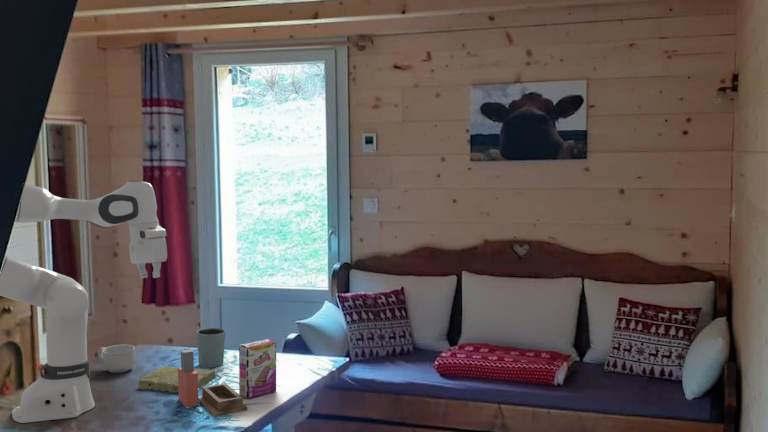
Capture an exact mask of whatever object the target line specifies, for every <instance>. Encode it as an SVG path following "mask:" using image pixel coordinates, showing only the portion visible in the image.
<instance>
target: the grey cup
mask: <svg viewBox="0 0 768 432" xmlns="http://www.w3.org/2000/svg"><path fill="white" fill-rule="evenodd" d="M225 340H226V330H225V329H223V328H219V327H210V328H209V327H207V328H202V329H198V330H196V341H197V343H196V344H197V354H198V357H197V358H198V359H197V360H198V366H200V367H201V366H204V367H203V368H215V367H214V366H217V367H219V366H222V365H223V364H224V358H225V356H224V354H225Z"/></svg>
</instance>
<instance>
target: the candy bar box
mask: <svg viewBox="0 0 768 432" xmlns="http://www.w3.org/2000/svg"><path fill="white" fill-rule="evenodd" d="M238 368H239V369H238V371H239V372H238V377H239V378H238V380H239V382H238V383H239V386H238V387H239V389H238V390H239V393H238V394H239V395H240V396H242V397H243V399H246V400H249V399H253V398H256V397H261V396H264V395H268V394H272V393H275V392H276V391H277V341H275V340H272V339H268V338H267V339H263V340H262V339H261V340H256V341H252V342H247V343H241V344H239V345H238Z"/></svg>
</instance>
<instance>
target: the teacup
mask: <svg viewBox="0 0 768 432" xmlns="http://www.w3.org/2000/svg"><path fill="white" fill-rule="evenodd" d="M135 349H136V347H135V345H133V344H124V343H123V344H114V345H110V346H107V347H105V346H104V347H103V346H102V347H100V348H98V351H97V355H98V356H99V358H100V360H102V361H103V363H102V364H103V366H104V368H105V370H107V371H108V372H110V373H111V374H122V373H125V372H128V371H129V370H131V369H132V368H133V366H134V365H135V363H136V361H135V360H136V353H135V351H136V350H135Z"/></svg>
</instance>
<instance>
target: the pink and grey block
mask: <svg viewBox="0 0 768 432" xmlns="http://www.w3.org/2000/svg"><path fill="white" fill-rule="evenodd" d="M194 361H195V360H194V350H192V349H191V348H190V349H183V350H181V349H180V366H179V367H177V368H178V401H180V402H181V403H182V404H183V405H184V406H185V407H186V408H187V407H189V408H193V407H192V406H194V407H197V406H196V405H198V406H199V401H198V398H199V389H198V373H197V372H196V371H194V369H195V365H194Z"/></svg>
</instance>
